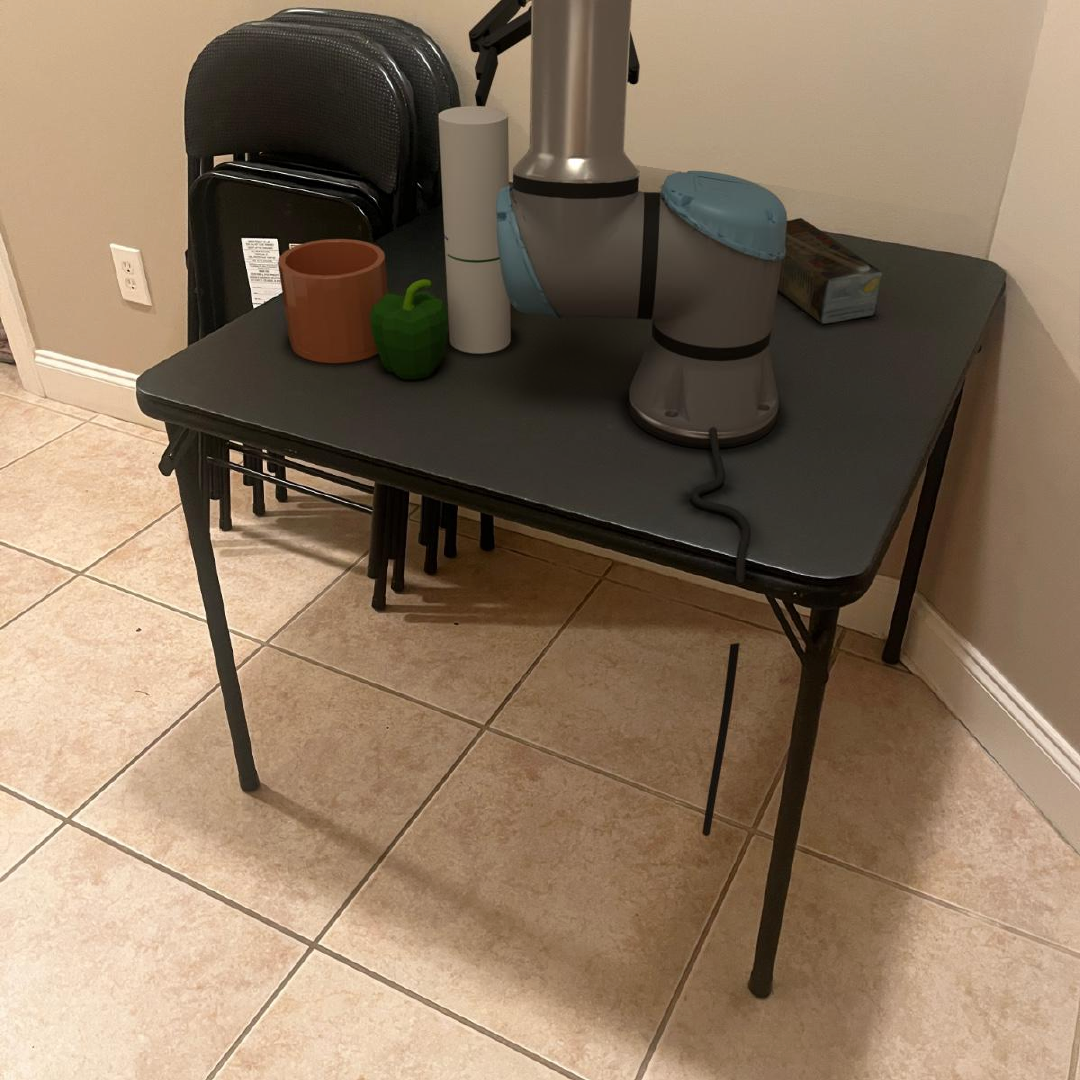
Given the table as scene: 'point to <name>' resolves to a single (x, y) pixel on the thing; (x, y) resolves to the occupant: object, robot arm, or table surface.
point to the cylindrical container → (474, 225)
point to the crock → (332, 298)
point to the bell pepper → (410, 331)
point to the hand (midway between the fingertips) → (536, 115)
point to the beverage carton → (826, 276)
